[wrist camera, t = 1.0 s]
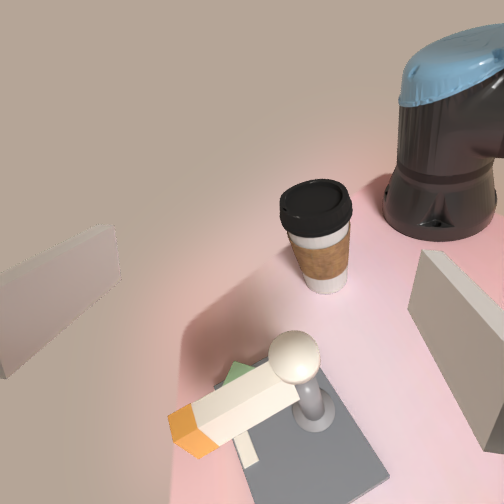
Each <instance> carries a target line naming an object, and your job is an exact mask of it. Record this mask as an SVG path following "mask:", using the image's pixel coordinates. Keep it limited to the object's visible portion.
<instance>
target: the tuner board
mask: <svg viewBox="0 0 504 504" xmlns="http://www.w3.org/2000/svg"><path fill="white" fill-rule="evenodd" d="M267 361H269V359H268V356H267V357H266V358H264V359H262V360H260V361H258V362H257V363H255V364H253V365H251V366H249V365H245V364H242V363H239V362H236V361H234V362H233V364H232V366H231V368H230V371H229V373H228V375H227V377H226V379H225V380H224V381H222V382H221V383H219V384H217V385H215V386H214V389H215V390H217V389H219V388H221V387H222V386H224V385H226V384H228V383H230V382H231V381H233V380H235V379H237V378H238V377H240V376H242V375H244V374H246V373H247V372H249V371H251V370H253V369H255V368H256V367H258V366H260V365H262V364H264V363H265V362H267ZM315 376H316V379H317V382H318V385H319V389H320V392H321V396H322V399H323V403H324V406H325V413H324V415H323V417H322V418H321V419H319V420H317V421H311V420H308V419H307V418H306V417H305V416H304V415H303V413H302V410H301V408H300V406H299V404H298V401H296V402H295V403H293V404H291V405H289V406H288V407H286V408H284V409H283V410H281V411H279V412H277V413H276V414H274V415H272V416H271V417H269V418H267V419H265V420H264V421H262V422H260V423H258V424H257V425H255V426H253V427H252V428H250V429H248V430H246V431H245V432H243V433H241V434H239V435H238V436H236V437H234V438H233V439H232V440H233V443H234V445H235V448H236V451H237V454H238V457H239V460H240V462H241V465H242V468H243V471H244V474H245V477H246V480H247V482H248V485H249V488H250V491H251V494H252V497H253V499H254V502H255V504H350V503H352V502H353V501H355V500H356V499H358V498H359V497H361V496H363V495H364V494H366V493H367V492H369V491H370V490H372V489H374V488H375V487H377V486H378V485H380V484H381V483H383V482H385V481H386V480H388V479H389V478H390V475H389V474H388V472H387V470H386V469H385V467H384V466H383V464H382V463H381V461H380V460H379V458H378V457H377V455H376V453H375V452H374V450H373V449H372V447H371V446H370V444H369V443H368V441H367V440H366V438H365V436H364V435H363V433H362V432H361V430H360V429H359V427H358V426H357V424H356V423H355V421H354V419H353V418H352V416H351V415H350V413H349V412H348V410H347V409H346V407H345V406H344V404H343V402H342V401H341V399H340V398H339V396H338V395H337V393H336V392H335V390H334V388H333V387H332V385H331V384H330V382H329V381H328V379H327V378H326V376H325V375H324V373H323V371H322V370H321V368H320V367H319V370H318V372H317V374H316V375H315Z"/></svg>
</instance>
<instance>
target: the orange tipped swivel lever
mask: <svg viewBox="0 0 504 504" xmlns="http://www.w3.org/2000/svg"><path fill="white" fill-rule="evenodd" d="M268 359H269V361H267V362H265V363H264V364H262V365H260V366H258V367H256V368H255V369H253V370H251V371H249V372H247V373H246V374H244V375H242V376H240V377H238V378H237V379H235V380H233V381H231V382H230V383H228V384H226V385H224V386H222V387H221V388H219V389H217V390H215V391H213V392H212V393H210V394H208V395H206V396H204V397H203V398H201V399H199V400H197V401H195V402H194V403H192V404H191V403H190V404H188V405H186V406H185V407H183V408H181V409H179V410H177V411H176V412H174V413H172V414H170V415H168V420H169V425H170V430H171V434H172V439H173V443H175V444H176V445H178V446H179V447H181V448H182V449H184V450H185V451H187V452H188V453H190V454H191V455H193V456H194V457H196V458H197V459H200V458H201V457H203V456H205V455H207V454H208V453H210V452H212V451H214V450H215V449H217V448H219V446H221V445H222V444H224V443H226V442H227V441H229V440H231V439H233V438H234V437H236V436H238V435H239V434H241V433H243V432H245V431H246V430H248V429H250V428H252V427H253V426H255V425H257V424H258V423H260V422H262V421H264V420H265V419H267V418H269V417H271V416H272V415H274V414H276V413H277V412H279V411H281V410H283V409H284V408H286V407H288V406H289V405H291V404H293V403H295V402H296V401H298V404H299V406H300V408H301V410H302V413H303V415H304V416H305V417H306V418H307V419H308V420H311V421H317V420H319V419H321V418H322V417H323V415H324V413H325V406H324V403H323V399H322V396H321V392H320V389H319V385H318V382H317V379H316V376H315V375H316V374H317V372H318V370H319V367H320V363H321V359H320V353H319V349H318V346H317V343H316V342H315V340H314V339H313V338H312V337H311V336H310V335H308V334H307V333H305V332H302V331H287V332H284V333H282V334H281V335H279V336H278V337H276V338H275V339H274V341H273V342H272V344H271V346H270V348H269V352H268Z"/></svg>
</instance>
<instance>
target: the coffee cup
mask: <svg viewBox="0 0 504 504" xmlns="http://www.w3.org/2000/svg"><path fill="white" fill-rule="evenodd" d="M352 211H353V209H352V201H351V199H350V197H349V194H348V191H347V189H346V187H345V186H344V185H343V184H341V183H340V182H337V181H334V180H329V179H315V180H309V181H306V182H302V183H300V184H297V185H295V186H293V187H291V188H289V189H288V190H286V191H285V192H284V193H283V194H282V195H281V198H280V220H281V223H282V226H283V227H284V229H285V230H286V231H287V234H288V238H289V241H290V243H291V246H292V248H293V251H294V253H295V256H296V258H297V261H298V263H299V266H300V268H301V270H302V273H303V276H304V279H305V281H306V284H307V286H308V287H309V288H310V289H311V290H312V291H313V292H316V293H318V294H324V295H327V294H333V293H336V292H338V291H339V290H341V289H342V288H343V287H344V286H345V284H346V282H347V275H348V256H349V240H350V218H351V216H352Z"/></svg>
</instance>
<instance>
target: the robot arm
mask: <svg viewBox="0 0 504 504" xmlns="http://www.w3.org/2000/svg"><path fill="white" fill-rule="evenodd" d="M398 100H399V105H400V108H399V127H398V148H397V165H396V167H395V170H394V172H393V174H392V176H391V179H390V181H389V184H388V186H387V187H386V190H385V192H384V196H383V214H384V217H385V219H386V220H387V222H388V223H389V224H390V225H391V226H392V227H393V228H394V229H396V230H397V231H399V232H401V233H403V234H405V235H407V236H410V237H413V238H416V239H420V240H426V241H435V242H445V241H455V240H460V239H464V238H467V237H470V236H473V235H475V234H477V233H479V232H480V231H482V230H483V229H484V228H485V227H487V226H488V224H489V223H490V222H491V220H492V218H493V215H494V212H495V209H496V206H497V195H496V190H495V188H494V179H493V170H492V166H493V162H494V159H495V158H504V23H502V24H493V25H486V26H481V27H476V28H472V29H469V30H465V31H461V32H458V33H455V34H452V35H450V36H447V37H444V38H442V39H440V40H437V41H435V42H433V43H431V44H429V45H427V46H426V47H424V48H423V49H421V50H420V51H418V52H417V53H416V54H415V55H414V56H413V57H412V58H411V59H410V60H409V61H408V63H407V64H406V66H405V68H404V71H403V76H402V85H401V94H400V96H399V99H398ZM121 280H122V279H121V272H120V264H119V257H118V249H117V242H116V234H115V226H114V225H105V224H98V225H96V226H94V227H92V228H90V229H88V230H86V231H84V232H82V233H80V234H78V235H76V236H74V237H72V238H70V239H68V240H66V241H63V242H61V243H59V244H57V245H56V246H53V247H51V248H49V249H47V250H46V251H43V252H41V253H39V254H37V255H35V256H33V257H31V258H29V259H27V260H25V261H23V262H22V263H19V264H18V265H15V266H13V267H11V268H9V269H7V270H5V271H3V272H1V273H0V378H2V379H7V378H8V377H10V376H11V375H12V374H13V373H14V372H15V371H17V370H18V369H19V368H20V367H21V366H22V365H24V364H25V363H26V362H27V361H28V360H29V359H31V358H32V357H33V356H34V355H35V354H36V353H37V352H39V351H40V350H41V349H42V348H43V347H44V346H46V345H47V344H48V343H49V342H50V341H51V340H53V339H54V338H55V337H56V336H57V335H58V334H60V333H61V332H62V331H63V330H64V329H65V328H67V326H69V325H70V324H71V323H72V322H73V321H75V320H76V319H77V318H78V317H79V316H80V315H82V314H83V313H84V312H85V311H86V310H87V309H88V308H90V307H91V306H92V305H93V304H94V303H95V302H97V301H98V300H99V299H100V298H101V297H102V296H103V295H105V294H106V293H107V292H108V291H109V290H111V288H113V287H114V286H115V285H116V284H118V283H119V282H120V281H121ZM408 311H409V313H410V315H411V317H412V319H413V321H414V322H415V324H416V326H417V328H418V330H419V332H420V334H421V336H422V337H423V339H424V341H425V343H426V345H427V347H428V349H429V351H430V352H431V354H432V356H433V358H434V360H435V362H436V364H437V366H438V367H439V369H440V371H441V373H442V375H443V377H444V379H445V381H446V382H447V384H448V386H449V388H450V390H451V392H452V394H453V396H454V397H455V399H456V401H457V403H458V405H459V407H460V409H461V411H462V412H463V414H464V416H465V418H466V420H467V422H468V424H469V426H470V427H471V429H472V431H473V433H474V435H475V437H476V439H477V441H478V442H479V444H480V446H481V448H482V450H483V451H485V452H491V453H498V454H504V310H503V309H501V308H500V307H499V306H498V305H497V304H496V303H495V302H494V301H493V300H492V299H491V298H490V297H489V296H488V295H487V294H486V293H485V292H484V291H483V290H482V289H481V288H480V287H479V286H478V285H477V284H476V283H475V282H474V281H472V280H471V279H470V278H469V277H468V276H467V275H466V274H465V273H464V272H463V271H462V270H461V269H460V268H459V267H458V266H457V265H456V264H455V263H454V262H453V261H452V260H451V259H450V258H449V257H448V256H447V255H446V254H445V253H444V252H442V251H434V250H421V255H420V259H419V263H418V267H417V271H416V275H415V280H414V284H413V288H412V292H411V296H410V301H409V305H408Z"/></svg>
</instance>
